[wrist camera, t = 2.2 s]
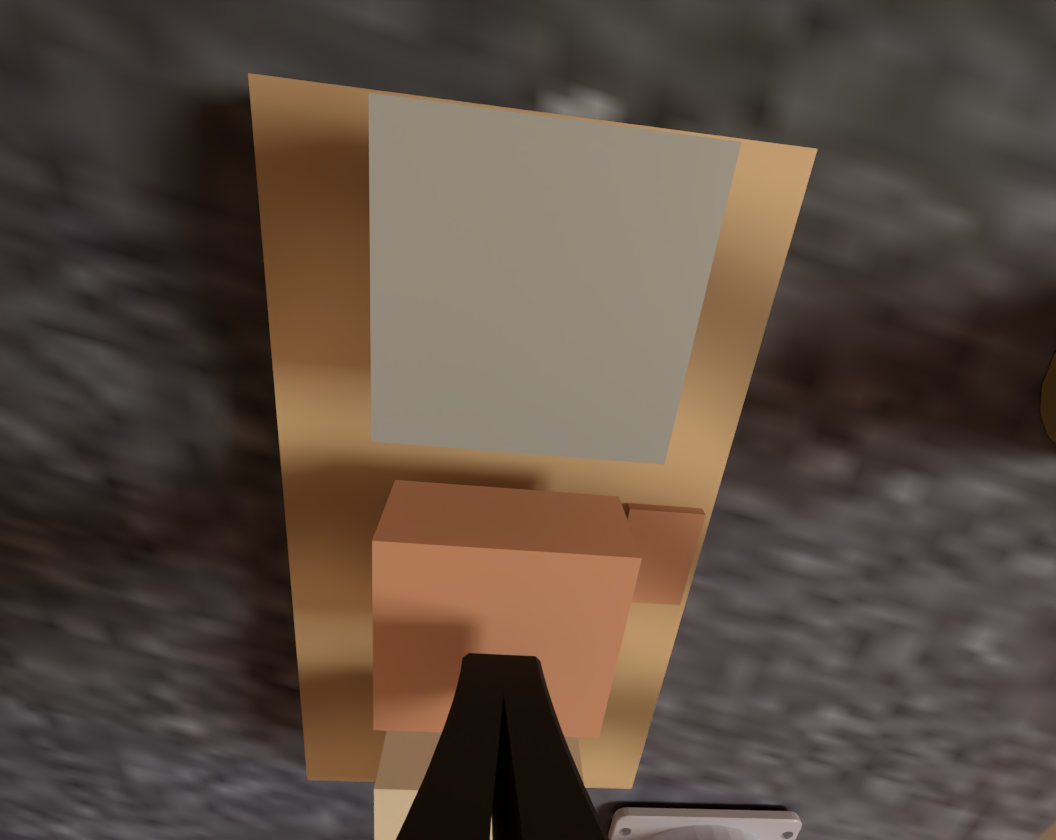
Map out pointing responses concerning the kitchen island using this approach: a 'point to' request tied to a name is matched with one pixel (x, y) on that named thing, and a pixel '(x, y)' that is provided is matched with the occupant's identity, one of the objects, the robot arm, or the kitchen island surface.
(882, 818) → the kitchen island surface
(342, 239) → the button board
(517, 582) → the button terracotta
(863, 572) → the kitchen island surface
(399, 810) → the button cream
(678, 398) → the button slate
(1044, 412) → the butternut squash
